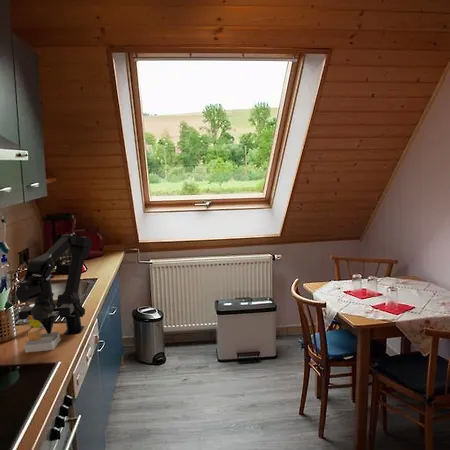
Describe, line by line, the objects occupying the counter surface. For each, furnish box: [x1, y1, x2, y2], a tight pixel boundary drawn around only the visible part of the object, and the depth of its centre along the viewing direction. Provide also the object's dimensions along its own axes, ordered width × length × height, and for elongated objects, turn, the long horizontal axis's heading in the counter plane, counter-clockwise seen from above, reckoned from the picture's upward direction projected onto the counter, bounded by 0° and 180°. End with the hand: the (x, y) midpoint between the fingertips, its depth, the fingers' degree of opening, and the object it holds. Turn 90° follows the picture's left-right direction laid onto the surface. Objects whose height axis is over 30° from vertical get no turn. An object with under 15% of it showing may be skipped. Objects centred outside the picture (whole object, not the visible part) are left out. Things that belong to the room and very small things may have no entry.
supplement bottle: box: [28, 303, 45, 330], centre depth 183 cm, size 6×6×10 cm
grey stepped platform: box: [24, 331, 62, 353], centre depth 164 cm, size 9×10×4 cm
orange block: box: [27, 328, 42, 341], centre depth 164 cm, size 4×3×4 cm
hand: (49, 333), depth 164 cm, fingers closed
